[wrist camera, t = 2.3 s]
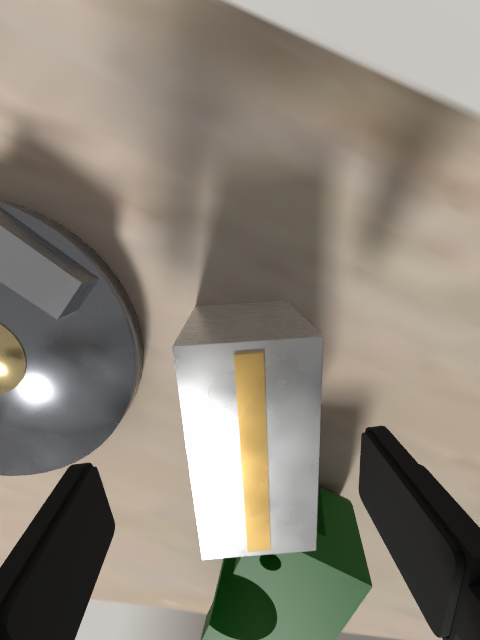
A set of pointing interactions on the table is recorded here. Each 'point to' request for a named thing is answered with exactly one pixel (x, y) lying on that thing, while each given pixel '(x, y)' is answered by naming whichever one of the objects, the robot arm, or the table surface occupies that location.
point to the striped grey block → (251, 426)
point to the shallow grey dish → (59, 345)
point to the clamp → (295, 585)
